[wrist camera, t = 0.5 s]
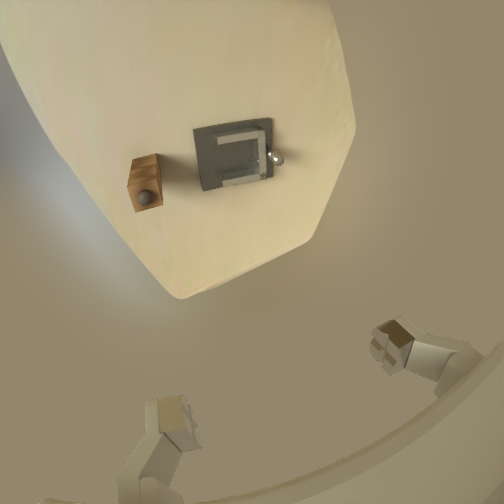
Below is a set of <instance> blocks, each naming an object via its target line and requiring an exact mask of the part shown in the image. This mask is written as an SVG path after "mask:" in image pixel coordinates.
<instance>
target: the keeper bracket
mask: <svg viewBox="0 0 504 504" xmlns="http://www.w3.org/2000/svg"><path fill="white" fill-rule="evenodd" d="M193 134H194V141H195V147H196V154H197V160H198V166H199V172H200V178H201V184H202V190H203V191H207V190H211V189H216V188H220V187H227V186H232V185H237V184H241V183H246V182H251V181H257V180H262V179H267V178H270V177H273V175H272V162H274V163H275V164H276V165H277V166H280V165H282V164H283V163H284V158H283V157H282V156H281V155H279V154H278V153H277V152H276V151H275V150H274V149H272V137H271V118H260V119H252V120H244V121H237V122H231V123H224V124H218V125H213V126H207V127H202V128H197V129H193Z"/></svg>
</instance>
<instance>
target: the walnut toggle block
mask: <svg viewBox="0 0 504 504" xmlns="http://www.w3.org/2000/svg"><path fill="white" fill-rule="evenodd" d="M127 188H128V192H129V195H130V198H131V201H132V204H133V207H134V210H135V213H136V212H139V211H143V210H146V209H150V208H154V207H157V206H161V205H163V196H162V181H161V172H160V168H159V164H158V159H157V155H156V153H155V154H151V155H148V156H144V157H140V158H137V159H133V160H132V165H131V170H130V174H129V180H128V185H127Z"/></svg>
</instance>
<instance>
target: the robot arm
mask: <svg viewBox="0 0 504 504" xmlns="http://www.w3.org/2000/svg"><path fill="white" fill-rule="evenodd" d="M372 336H373V337H374V338H373V339H372V341H371V342H370V351H371V354H372V356H373V357H374V358H375V359H376V361H379V362H382V368H383V369H384V370H385V371H386V372H387V373H388V374H389V376H392V375H394V374H395V373H397V372H399V371H401V370H402V369H404V368H405V370H408V371H410V372H413V373H415V374H418V375H420V376H423V377H425V378H428V379H430V380H433V381H436V382H438V383H437V384H436V387H435V389H434V391H433V393H434V394H435V395H436V396H437V397H438V399H437V400H436V401H435V402H433V403H432V404H431V405H430V406H428V407H427V408H425V409H424V410H423V411H421V412H420V413H418V414H417V415H416V416H414V417H413V418H411V419H410V420H408V421H407V422H405V423H404V424H402V425H401V426H399V427H398V428H396V429H395V430H393V431H391V432H390V433H388V434H386V435H385V436H383V437H382V438H380V439H378V440H376V441H375V442H373V443H371V444H369V445H367V446H366V447H364V448H362V449H360V450H358V451H356V452H354V453H352V454H351V455H348V456H346V457H344V458H342V459H340V460H338V461H336V462H334V463H331V464H329V465H327V466H325V467H322V468H320V469H317V470H315V471H313V472H310V473H307V474H305V475H302V476H299V477H297V478H294V479H291V480H288V481H285V482H282V483H279V484H276V485H273V486H270V487H266V488H263V489H259V490H256V491H252V492H248V493H244V494H240V495H235V496H231V497H226V498H220V499H215V500H209V501H203V502H196V503H188V504H504V336H503V337H502V338H501V339H500V341H499V342H498V343H497V344H496V345H495V346H494V347H493V348H492V349H491V350H490V352H489V353H488V354H487V355H486V356H485V357H484V356H483V355H482V354H480V353H479V352H478V351H477V350H476V349H475V348H474V347H472V346H471V345H470V344H469V343H468V342H464V341H459V340H455V339H451V338H447V337H442V336H438V335H434V334H430V333H425V334H424V333H422V332H421V331H420V330H419V329H418V328H417V327H415V326H414V325H413V324H412V323H411V322H410V321H408V320H407V319H406V318H405V317H404V316H402V315H399V316H397V317H395V318H394V319H392V320H389V321H387V322H385V323H383V324H381V325H380V326H377V327H375V328H374V329H373V331H372ZM145 411H146V412H145V413H146V436H143V437H142V439H141V440H140V442H139V443H138V445H137V447H136V448H135V450H134V452H133V453H132V455H131V456H130V458H129V459H128V461H127V463H126V464H125V466H124V468H123V469H122V471H121V472H120V474H119V476H118V477H117V484H118V500H119V504H184V502H183V498H182V495H181V494H179V493H178V492H176V491H174V490H173V489H171V488H169V485H170V482H171V480H172V478H173V475H174V473H175V470H176V468H177V466H178V463H179V461H180V458H181V456H182V452H186V451H192V450H196V449H201V448H202V446H201V441H200V437H199V434H198V432H197V431H196V430H195V429H196V427H197V422H196V418H195V415H194V412H193V410H192V408H191V406H190V405H188V404H187V400H186V398H185V396H184V395H179V396H173V397H168V398H162V399H156V400H150V401H147V402H146V404H145ZM38 504H84V503H75V502H69V501H64V500H59V499H54V498H43V499H42V500H41V501H40V502H39V503H38Z"/></svg>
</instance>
